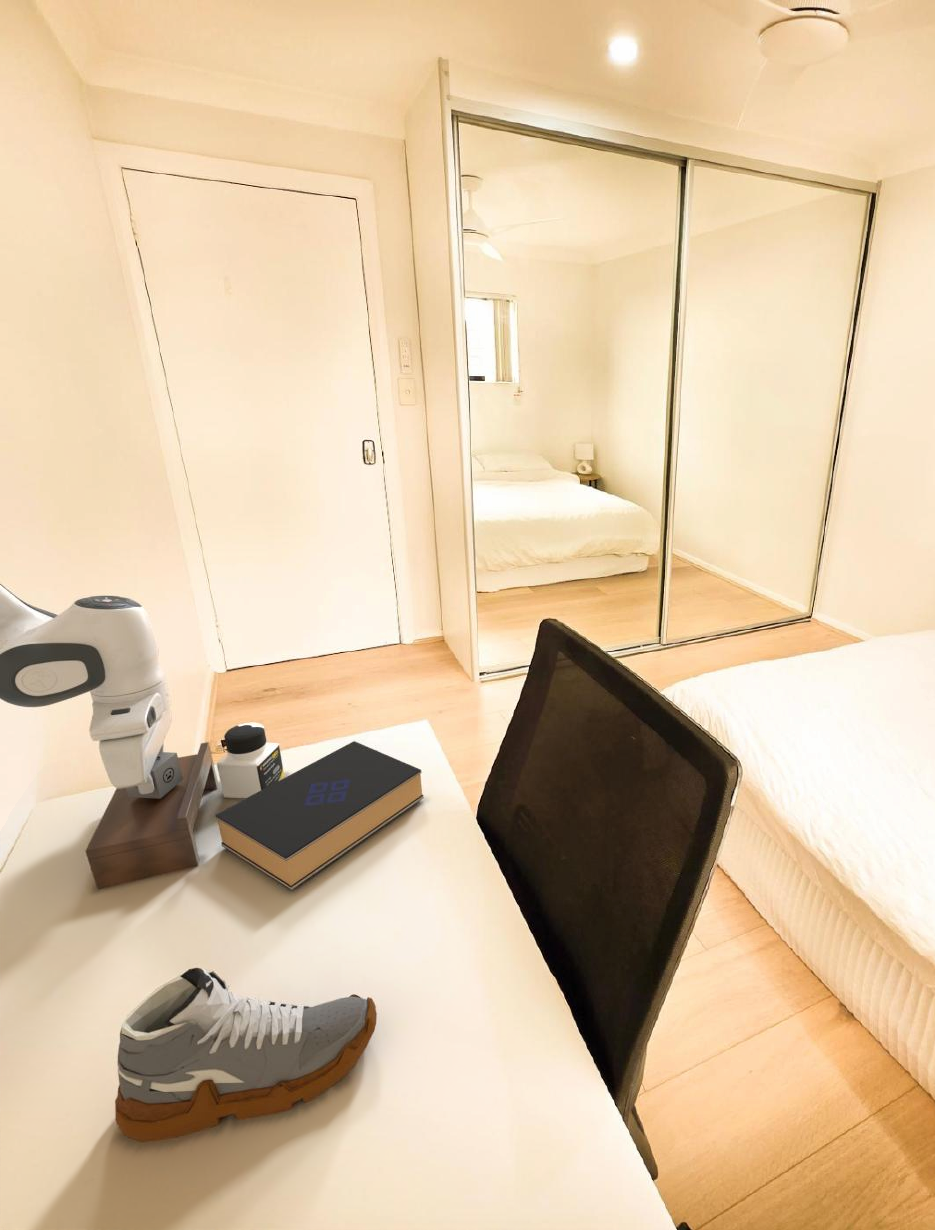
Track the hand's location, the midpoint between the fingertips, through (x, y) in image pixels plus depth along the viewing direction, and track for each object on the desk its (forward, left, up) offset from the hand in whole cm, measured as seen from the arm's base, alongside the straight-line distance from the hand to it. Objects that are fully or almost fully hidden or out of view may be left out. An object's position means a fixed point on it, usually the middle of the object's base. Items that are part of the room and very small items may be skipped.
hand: (153, 778), depth 95 cm
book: (+24, -9, -10) cm, 27 cm away
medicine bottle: (+12, +7, -10) cm, 17 cm away
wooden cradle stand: (0, -1, -9) cm, 9 cm away
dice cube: (0, 0, -2) cm, 2 cm away
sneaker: (+17, -49, -10) cm, 53 cm away
